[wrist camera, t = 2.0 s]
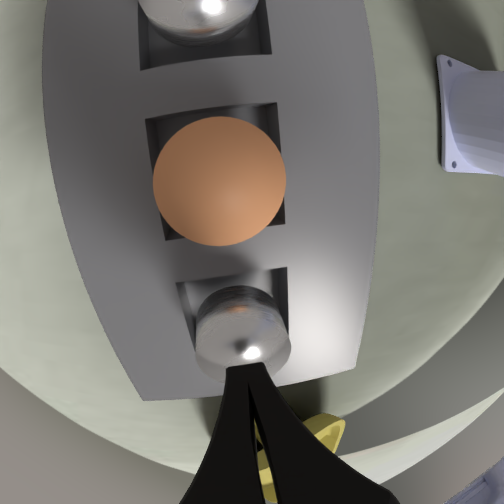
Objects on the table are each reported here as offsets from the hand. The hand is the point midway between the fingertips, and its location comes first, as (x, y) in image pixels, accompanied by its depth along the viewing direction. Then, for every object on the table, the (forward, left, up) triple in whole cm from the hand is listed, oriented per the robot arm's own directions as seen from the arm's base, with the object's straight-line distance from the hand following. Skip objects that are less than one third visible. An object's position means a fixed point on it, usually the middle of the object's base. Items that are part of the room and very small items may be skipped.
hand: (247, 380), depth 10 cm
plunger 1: (0, -14, -4) cm, 14 cm away
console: (0, -7, -7) cm, 10 cm away
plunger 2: (0, 0, -4) cm, 4 cm away
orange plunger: (0, -7, -4) cm, 8 cm away
